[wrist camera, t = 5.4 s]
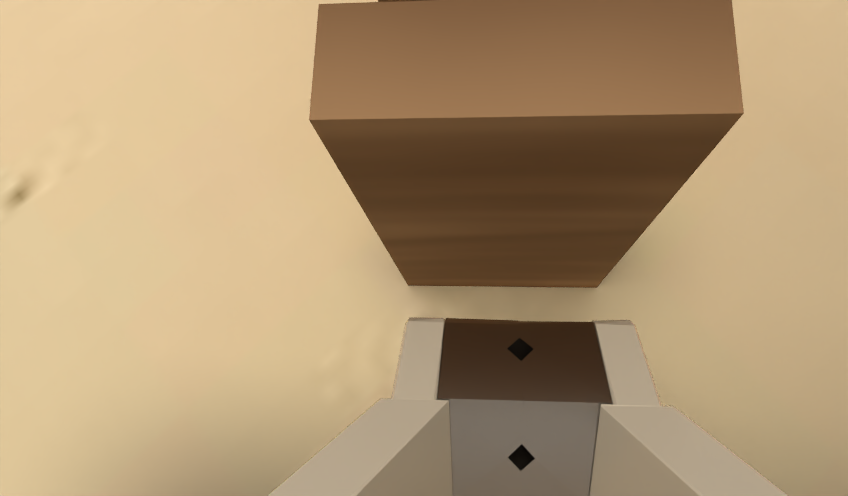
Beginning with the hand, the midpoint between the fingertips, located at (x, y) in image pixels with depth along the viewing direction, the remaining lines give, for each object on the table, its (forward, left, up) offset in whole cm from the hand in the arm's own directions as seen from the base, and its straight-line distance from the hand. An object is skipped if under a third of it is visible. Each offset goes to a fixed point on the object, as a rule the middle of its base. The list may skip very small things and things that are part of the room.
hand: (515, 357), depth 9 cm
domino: (+1, -3, -8) cm, 9 cm away
